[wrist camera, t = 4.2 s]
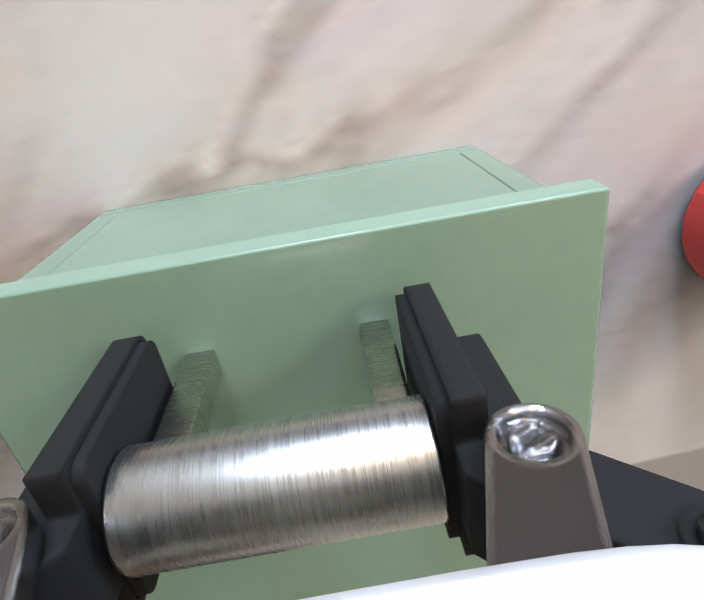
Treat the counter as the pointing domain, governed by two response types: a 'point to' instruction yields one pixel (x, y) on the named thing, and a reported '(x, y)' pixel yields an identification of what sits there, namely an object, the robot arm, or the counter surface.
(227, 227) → the bin
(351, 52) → the counter surface
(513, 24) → the counter surface
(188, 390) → the bin lid
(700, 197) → the beer can
